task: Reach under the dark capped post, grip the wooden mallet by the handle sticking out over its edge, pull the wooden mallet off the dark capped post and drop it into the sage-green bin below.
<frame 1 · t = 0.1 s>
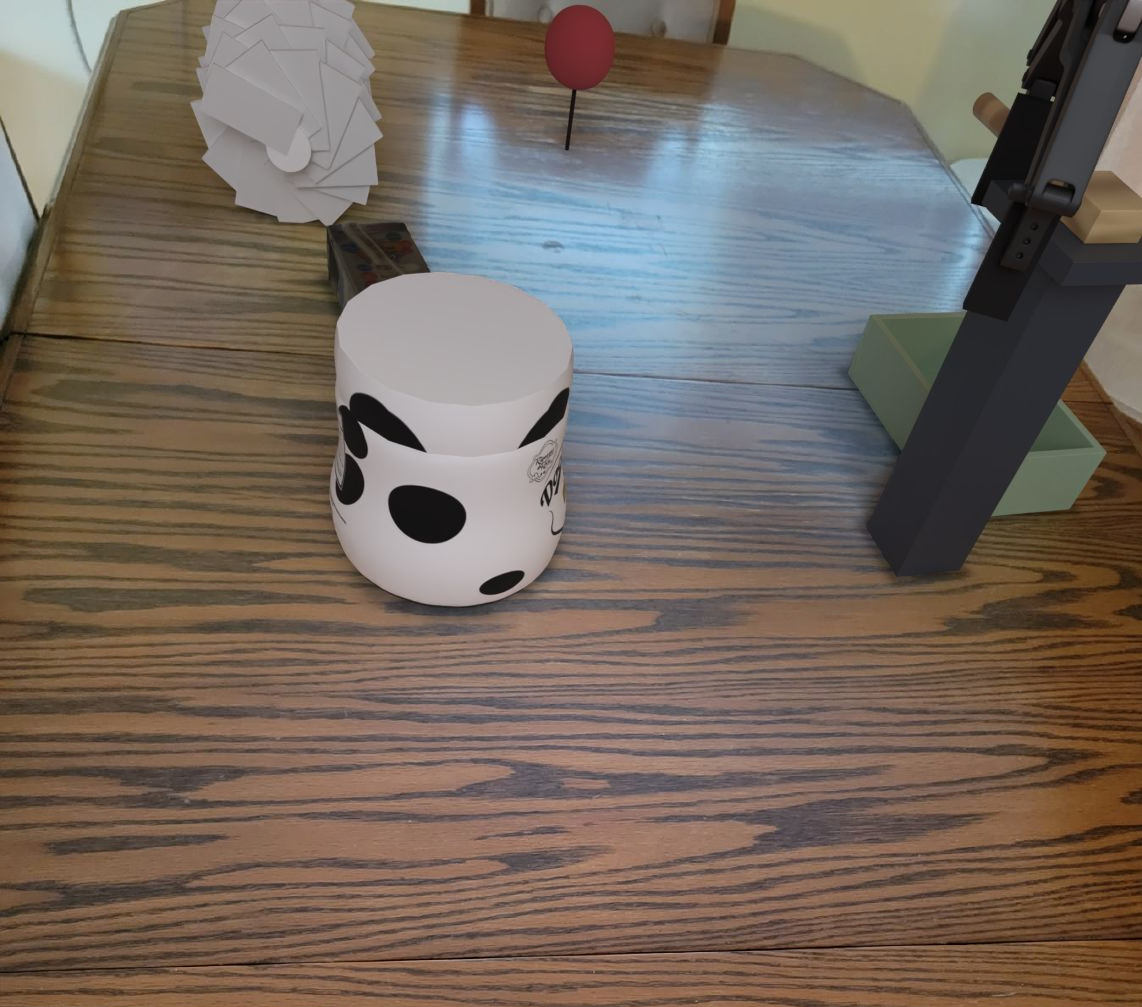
hand: (987, 257, 65), 26 cm above the table, tool pointing down, fingers open, 13 cm apart
wooden mallet: (1111, 243, 62), point 28 cm above the table, touching dark capped post
milk container: (447, 549, 80), on the table
dark capped post: (909, 554, 86), on the table
spiral staircase: (297, 188, 110), on the table
lollipop: (566, 157, 122), on the table
bin: (950, 443, 97), on the table
beverage carton: (391, 338, 96), on the table
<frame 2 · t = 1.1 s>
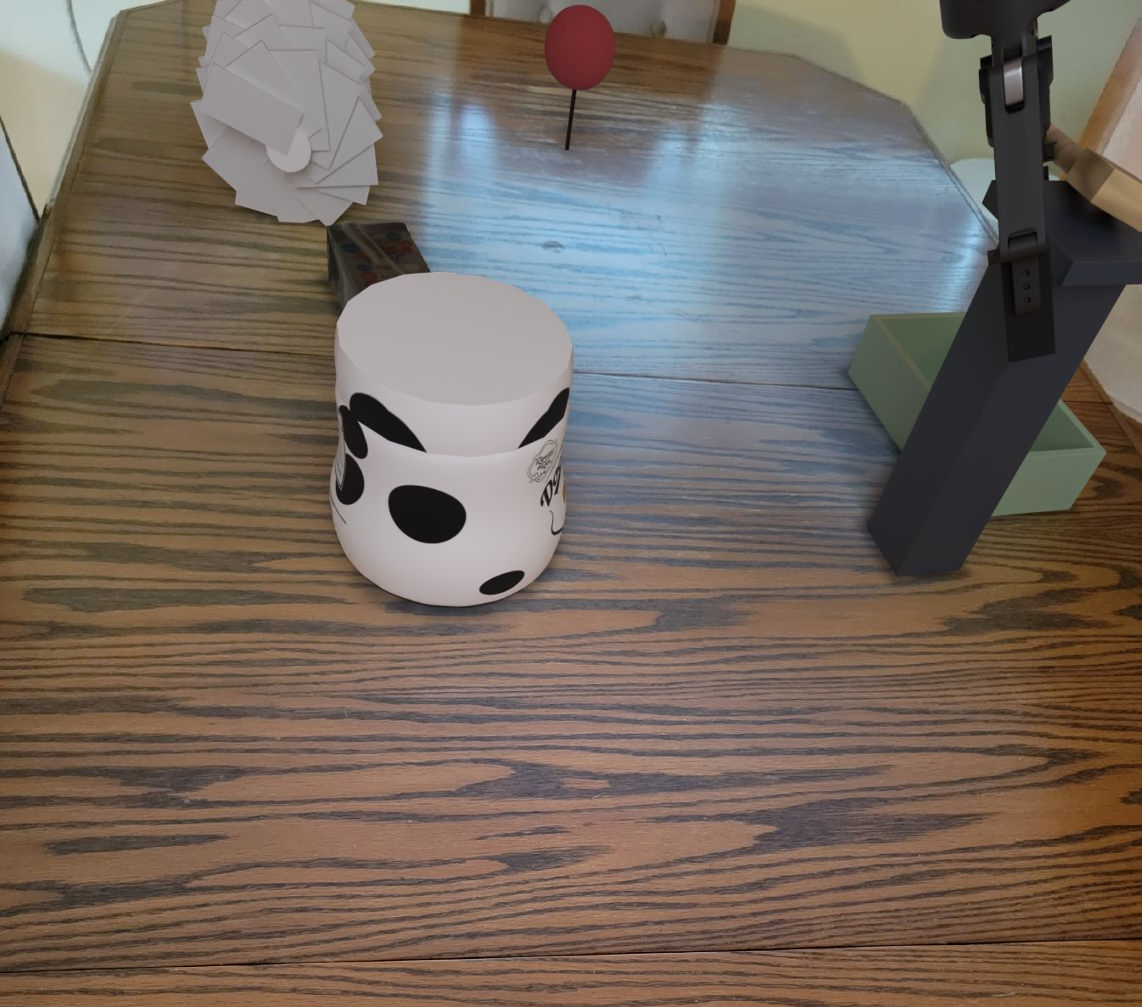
hand: (1032, 310, 69), 22 cm above the table, tool tilted 30°, fingers open, 13 cm apart
wooden mallet: (1115, 218, 61), point 29 cm above the table, tilted 19°, touching hand
everything else where it was.
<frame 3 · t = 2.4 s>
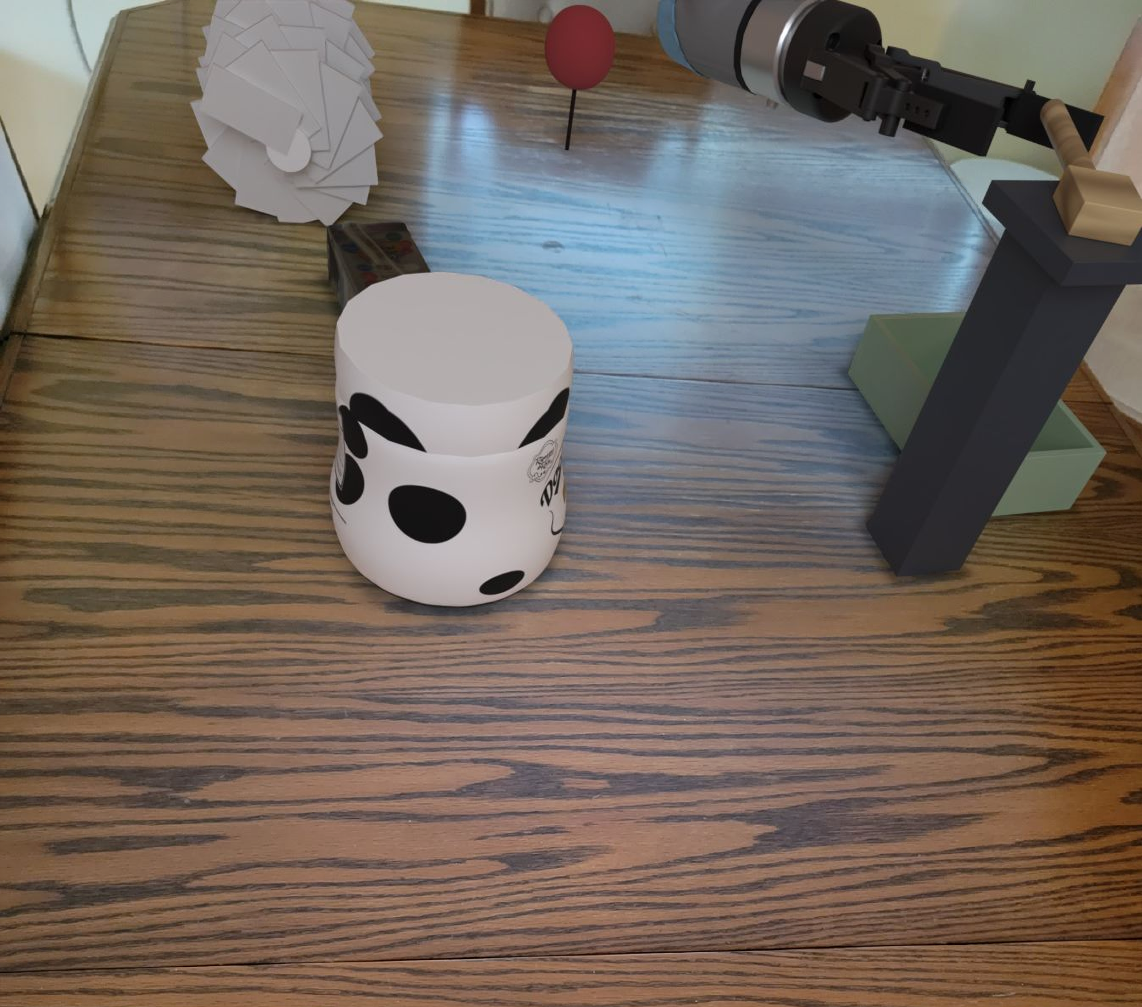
hand: (1045, 135, 69), 29 cm above the table, tool horizontal, fingers open, 12 cm apart
wooden mallet: (1099, 240, 62), point 28 cm above the table, touching dark capped post
everything else where it was.
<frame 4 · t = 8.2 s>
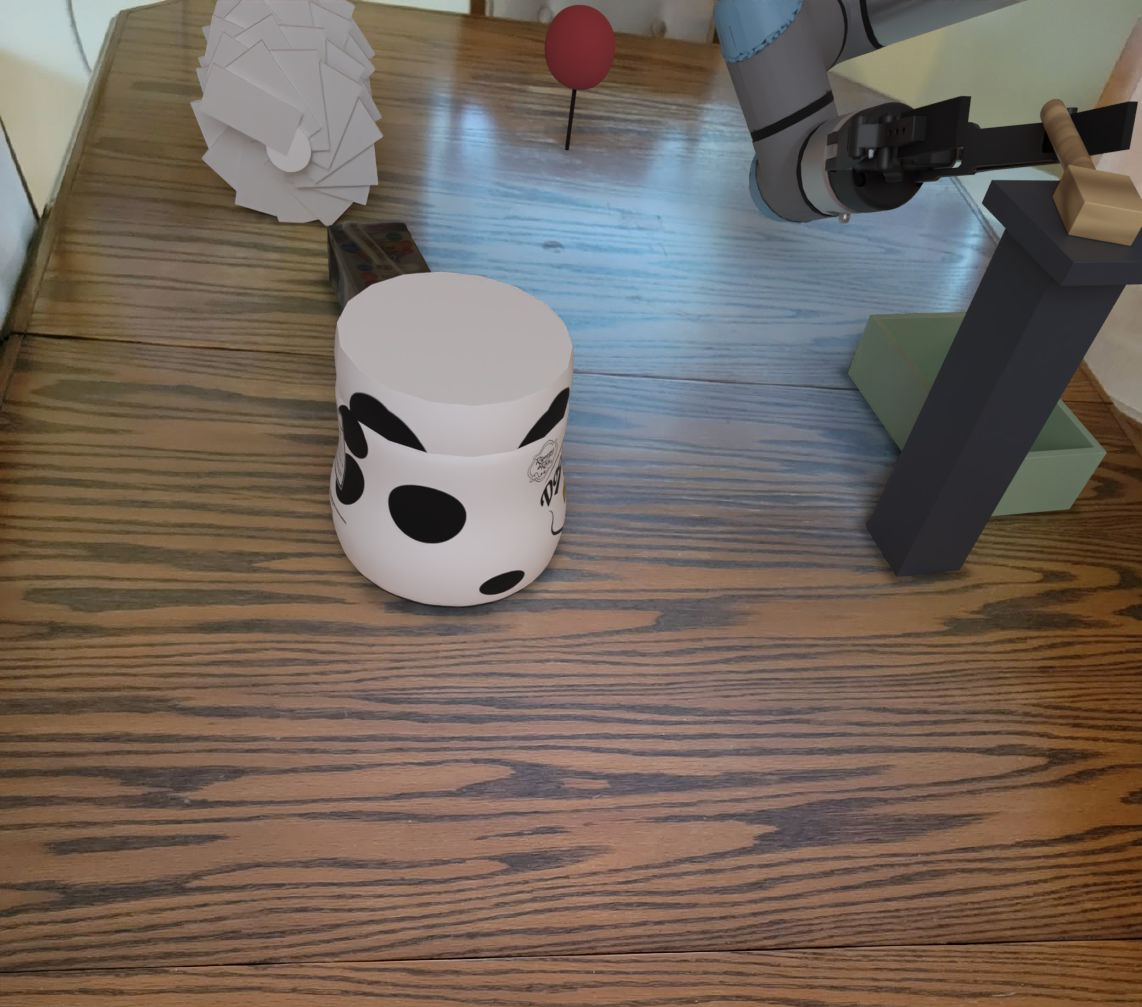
hand: (1048, 123, 66), 31 cm above the table, tool pointing upward, fingers open, 12 cm apart
wooden mallet: (1099, 240, 62), point 28 cm above the table, touching gripper, dark capped post
everything else where it was.
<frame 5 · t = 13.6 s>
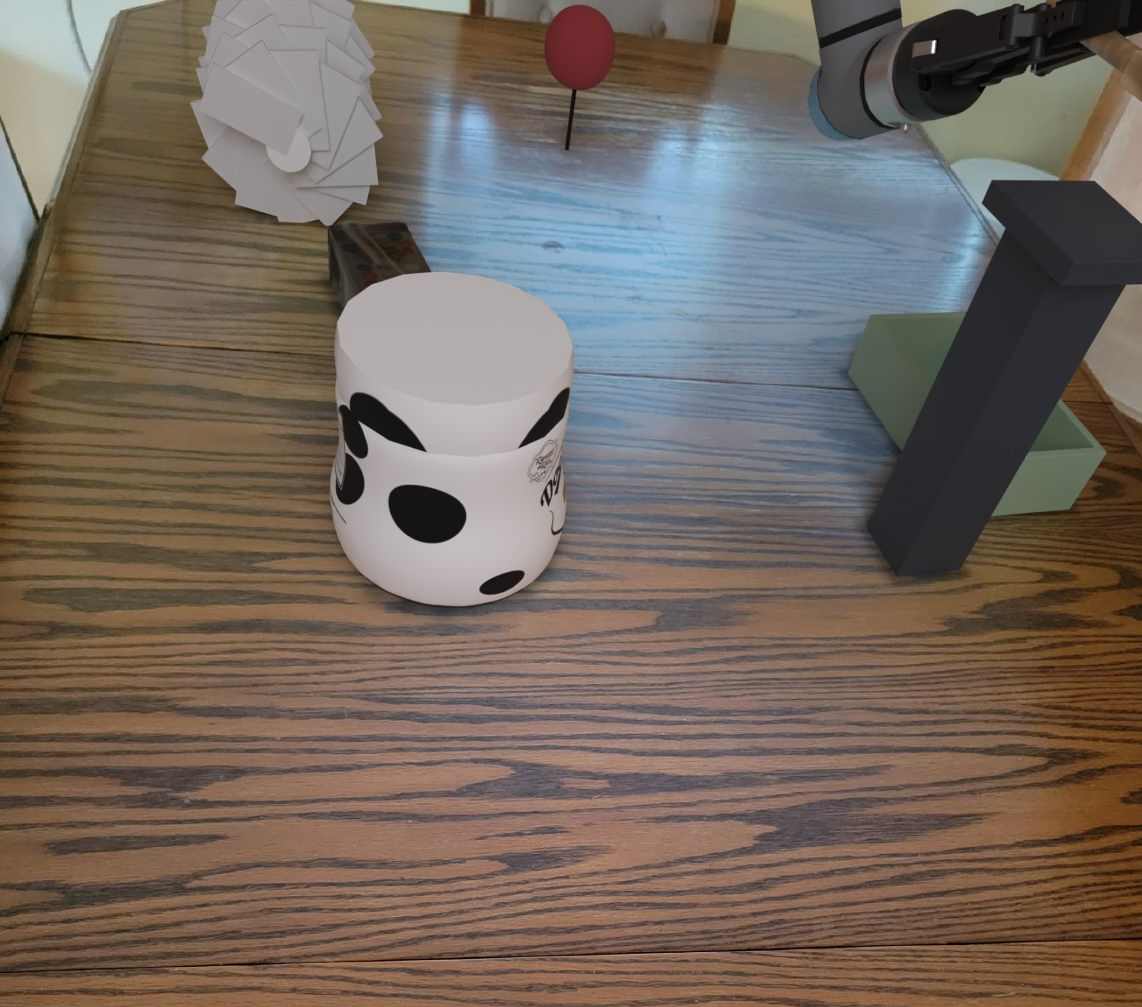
hand: (1140, 3, 68), 35 cm above the table, tool pointing upward, fingers closed on wooden mallet, 2 cm apart
when the fingers open (22 cm above the table, at t = 18.0 s): wooden mallet drops 18 cm, resting on bin.
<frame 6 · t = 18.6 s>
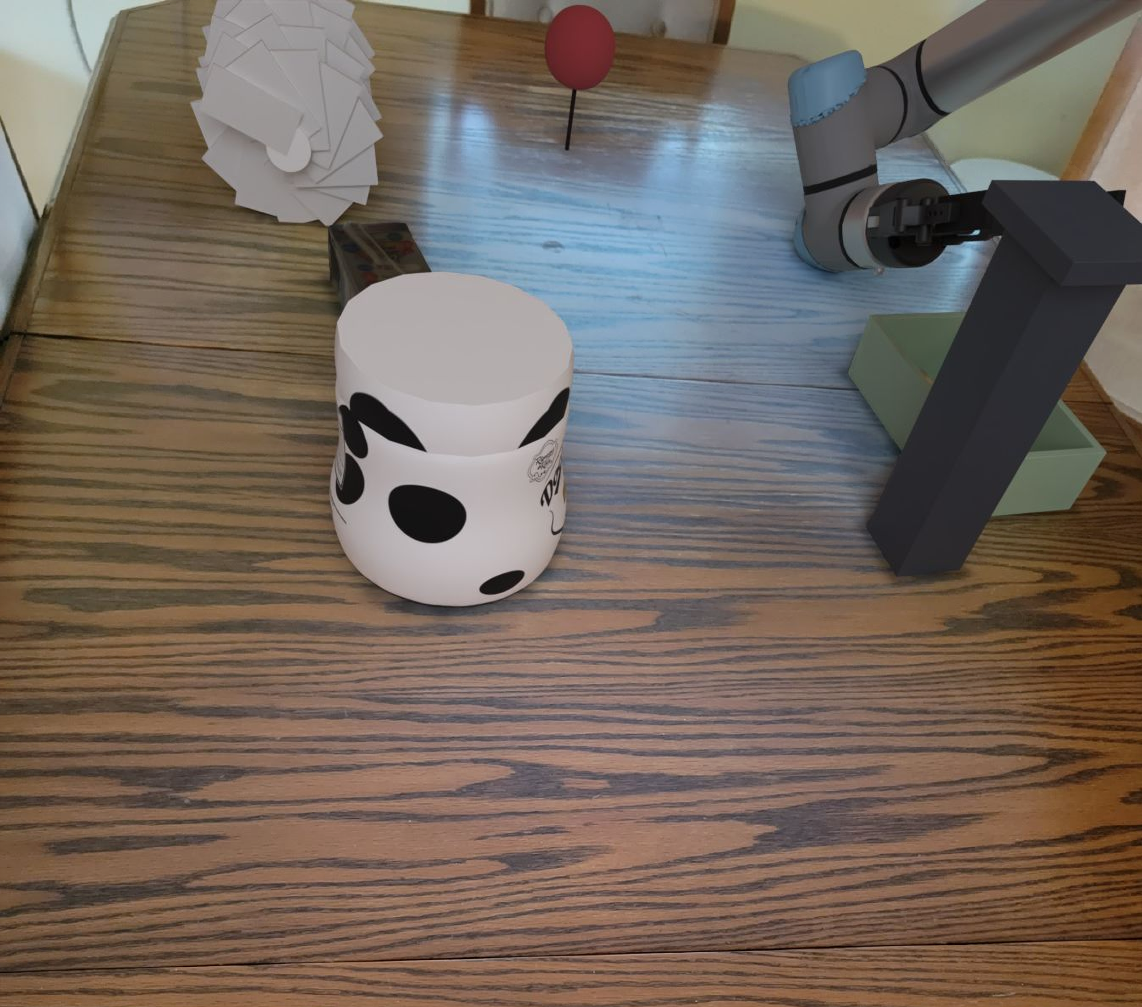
hand: (1056, 209, 81), 21 cm above the table, tool pointing upward, fingers open, 11 cm apart
wooden mallet: (997, 497, 91), point 1 cm above the table, touching bin
everything else where it was.
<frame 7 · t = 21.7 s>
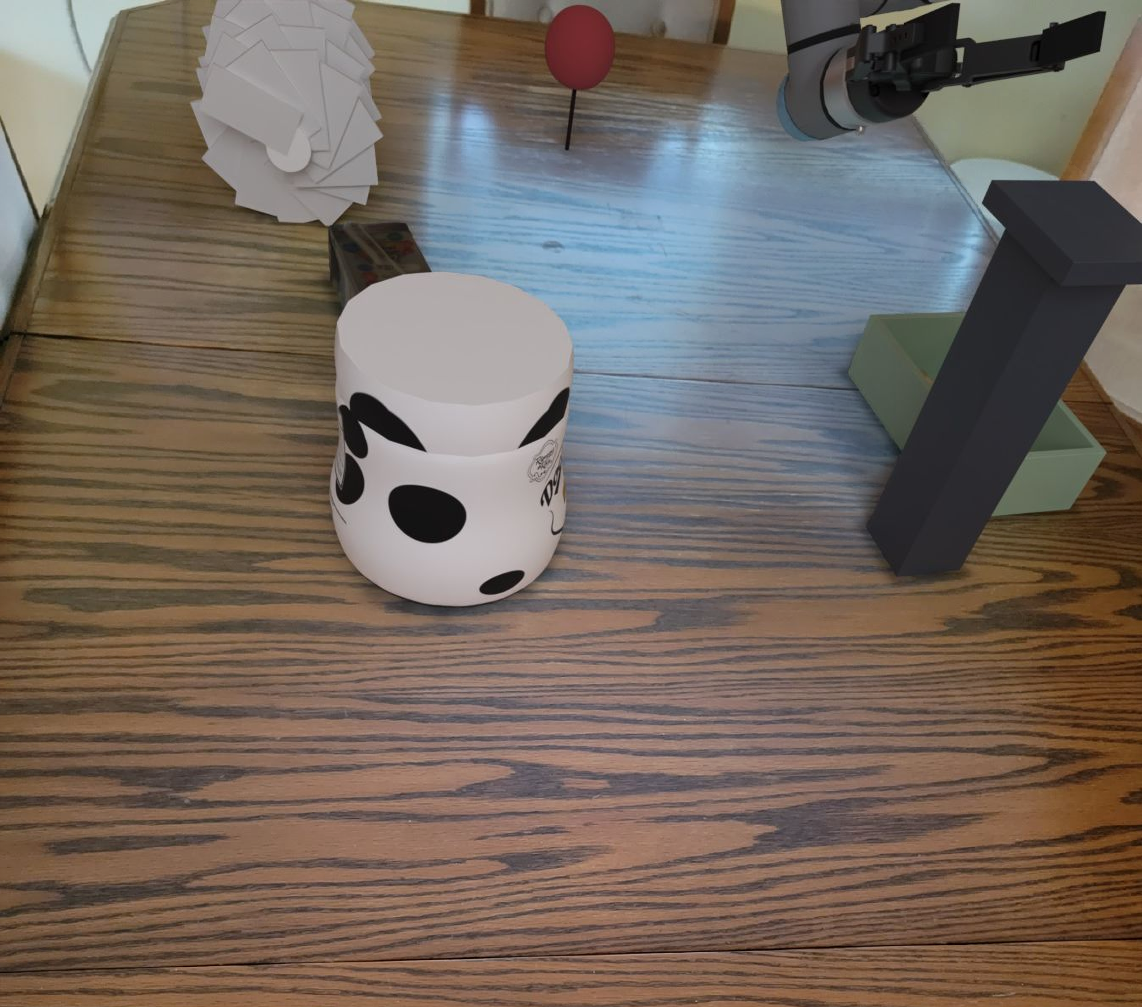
hand: (1028, 27, 81), 29 cm above the table, tool pointing upward, fingers open, 13 cm apart
nothing on the table moved.
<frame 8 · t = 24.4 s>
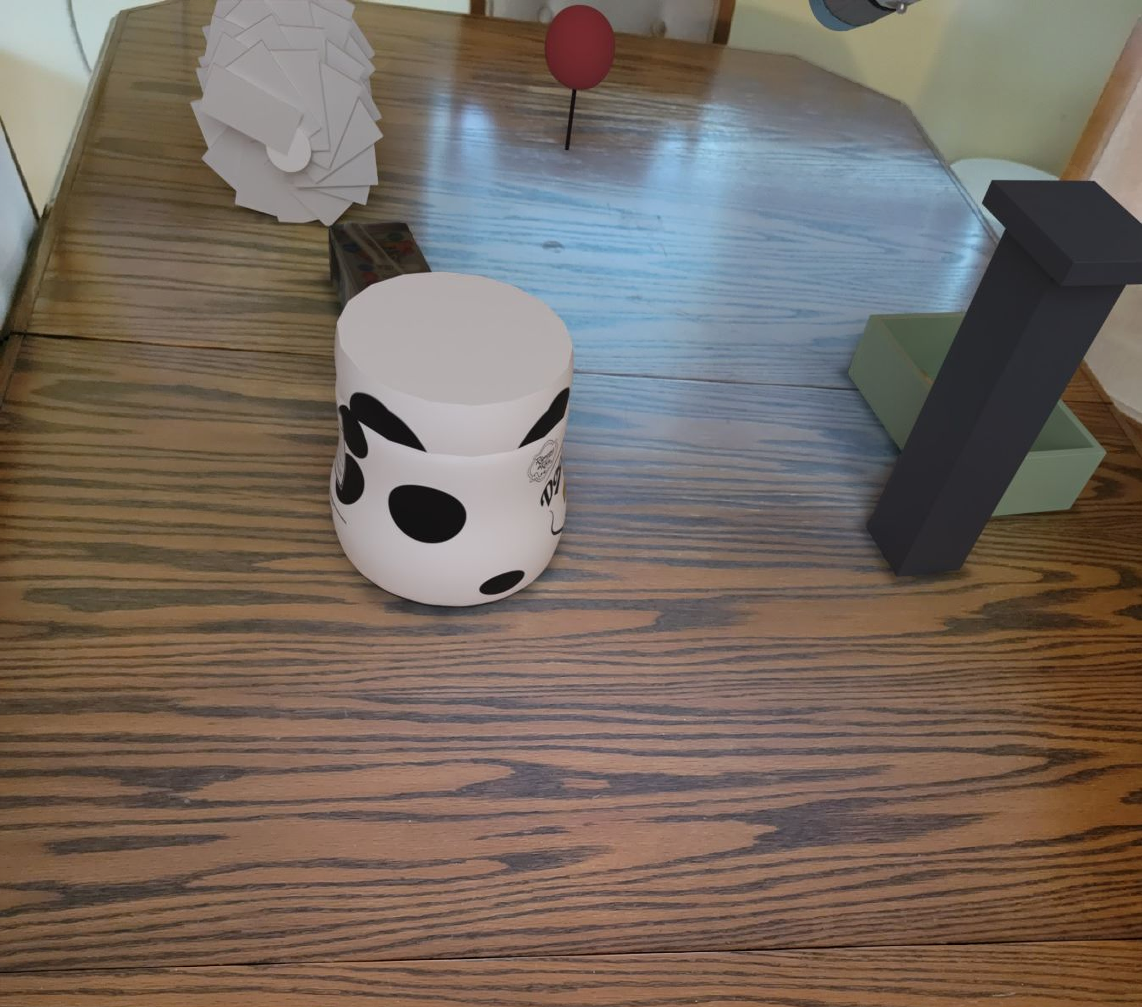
nothing on the table moved.
at the end: wooden mallet inside the target area in the bin (2.9 cm from its centre), point 0.8 cm above the bin's base; the gripper is holding nothing; wooden mallet moved 30.5 cm from its start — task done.
